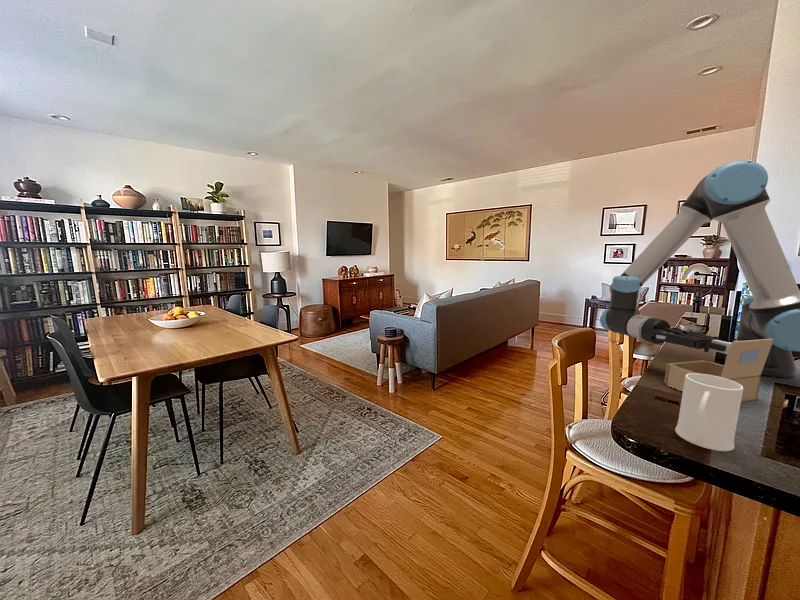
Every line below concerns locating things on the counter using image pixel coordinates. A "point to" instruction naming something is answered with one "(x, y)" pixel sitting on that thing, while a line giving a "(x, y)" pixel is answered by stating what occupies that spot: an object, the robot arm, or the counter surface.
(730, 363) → the flap
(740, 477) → the counter surface
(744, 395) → the carton
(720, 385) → the mug
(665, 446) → the counter surface
